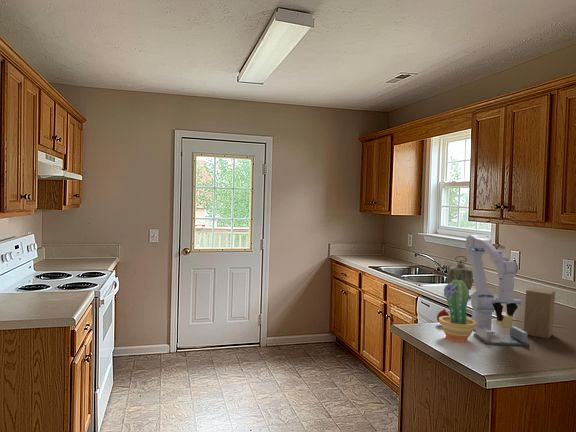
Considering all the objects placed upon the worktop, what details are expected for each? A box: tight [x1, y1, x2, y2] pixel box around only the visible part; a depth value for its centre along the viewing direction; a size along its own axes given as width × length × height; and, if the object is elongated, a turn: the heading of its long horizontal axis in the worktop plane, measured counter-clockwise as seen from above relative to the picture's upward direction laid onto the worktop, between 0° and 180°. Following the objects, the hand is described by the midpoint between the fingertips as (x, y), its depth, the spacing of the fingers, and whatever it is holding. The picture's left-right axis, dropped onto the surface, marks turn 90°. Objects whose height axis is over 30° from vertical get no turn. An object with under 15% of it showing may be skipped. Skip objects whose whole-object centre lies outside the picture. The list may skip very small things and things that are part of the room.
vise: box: [473, 325, 530, 347], centre depth 192 cm, size 12×18×5 cm, turn 91°
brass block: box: [496, 311, 514, 329], centre depth 191 cm, size 6×4×5 cm, turn 1°
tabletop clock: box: [446, 255, 474, 291], centre depth 289 cm, size 14×9×25 cm, turn 82°
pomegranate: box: [436, 308, 450, 325], centre depth 213 cm, size 6×6×8 cm
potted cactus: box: [438, 280, 477, 343], centre depth 192 cm, size 15×15×25 cm
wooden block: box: [523, 287, 556, 340], centre depth 204 cm, size 10×10×20 cm
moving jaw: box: [509, 325, 529, 343], centre depth 192 cm, size 10×2×4 cm, turn 1°
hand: (503, 320), depth 191 cm, fingers closed on brass block, 3 cm apart
